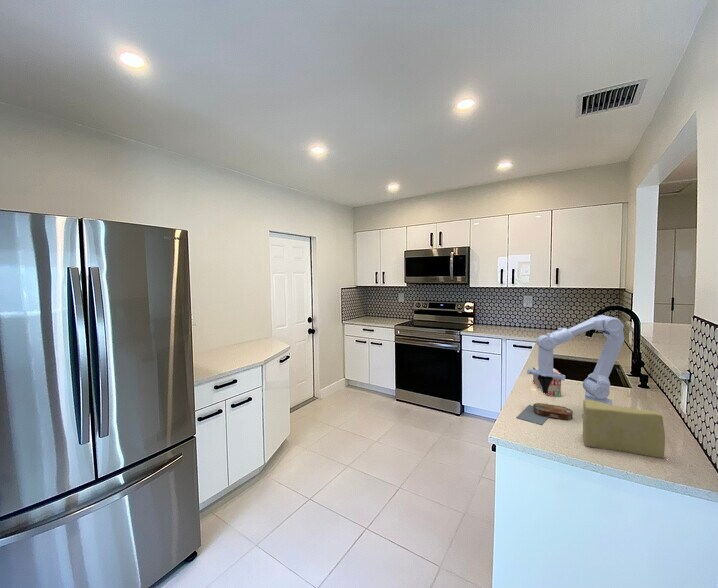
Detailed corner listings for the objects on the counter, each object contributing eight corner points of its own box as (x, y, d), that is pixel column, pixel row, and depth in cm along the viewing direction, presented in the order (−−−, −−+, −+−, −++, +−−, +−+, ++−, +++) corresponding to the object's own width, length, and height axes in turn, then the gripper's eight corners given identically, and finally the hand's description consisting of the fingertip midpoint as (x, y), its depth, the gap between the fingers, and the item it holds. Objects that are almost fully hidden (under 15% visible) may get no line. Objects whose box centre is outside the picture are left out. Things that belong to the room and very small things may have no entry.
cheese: (659, 450, 110) (661, 408, 109) (668, 465, 102) (670, 419, 101) (582, 434, 122) (583, 396, 121) (584, 446, 114) (585, 405, 113)
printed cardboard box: (532, 382, 181) (533, 361, 181) (544, 383, 180) (545, 361, 179) (547, 396, 160) (547, 372, 160) (561, 397, 159) (561, 373, 158)
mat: (553, 411, 143) (553, 410, 143) (542, 425, 130) (542, 424, 130) (528, 405, 150) (529, 404, 150) (516, 418, 137) (516, 417, 137)
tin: (534, 409, 138) (532, 400, 146) (534, 416, 139) (531, 407, 146) (575, 415, 132) (570, 406, 140) (574, 422, 133) (569, 413, 141)
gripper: (525, 361, 142) (524, 391, 143) (562, 367, 132) (562, 399, 133) (529, 358, 147) (529, 387, 148) (566, 364, 137) (565, 394, 138)
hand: (545, 392), depth 141 cm, fingers closed
